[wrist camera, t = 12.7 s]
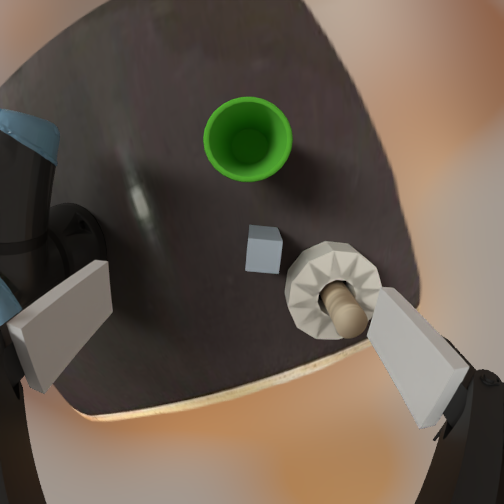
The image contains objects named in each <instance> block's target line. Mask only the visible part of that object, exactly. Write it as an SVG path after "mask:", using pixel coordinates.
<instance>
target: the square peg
mask: <svg viewBox="0 0 504 504" xmlns="http://www.w3.org/2000/svg"><path fill="white" fill-rule="evenodd" d="M282 244H283V241H282V238H281V235H280V232H279V230H278V228H277V227H267V226H257V225H249V236H248V246H247V257H246V268H245V271H252V272H263V273H274V274H279V268H280V260H281V252H282Z"/></svg>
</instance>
